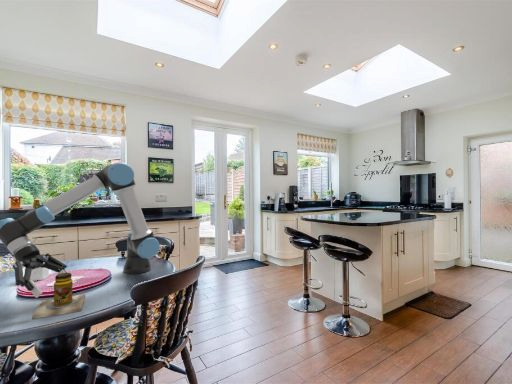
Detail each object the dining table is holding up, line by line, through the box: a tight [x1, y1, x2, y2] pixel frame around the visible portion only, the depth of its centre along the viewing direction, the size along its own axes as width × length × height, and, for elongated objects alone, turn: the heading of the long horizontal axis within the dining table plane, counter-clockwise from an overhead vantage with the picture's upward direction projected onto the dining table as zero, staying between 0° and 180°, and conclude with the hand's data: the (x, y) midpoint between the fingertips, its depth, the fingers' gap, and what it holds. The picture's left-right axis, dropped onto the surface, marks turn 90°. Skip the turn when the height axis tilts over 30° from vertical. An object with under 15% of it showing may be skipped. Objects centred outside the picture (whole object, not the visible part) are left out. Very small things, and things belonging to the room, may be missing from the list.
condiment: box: [47, 272, 77, 308], centre depth 106 cm, size 7×8×12 cm
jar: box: [29, 253, 50, 282], centre depth 138 cm, size 9×8×12 cm
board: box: [32, 293, 86, 320], centre depth 105 cm, size 15×15×1 cm
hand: (55, 288), depth 105 cm, fingers open, 13 cm apart
